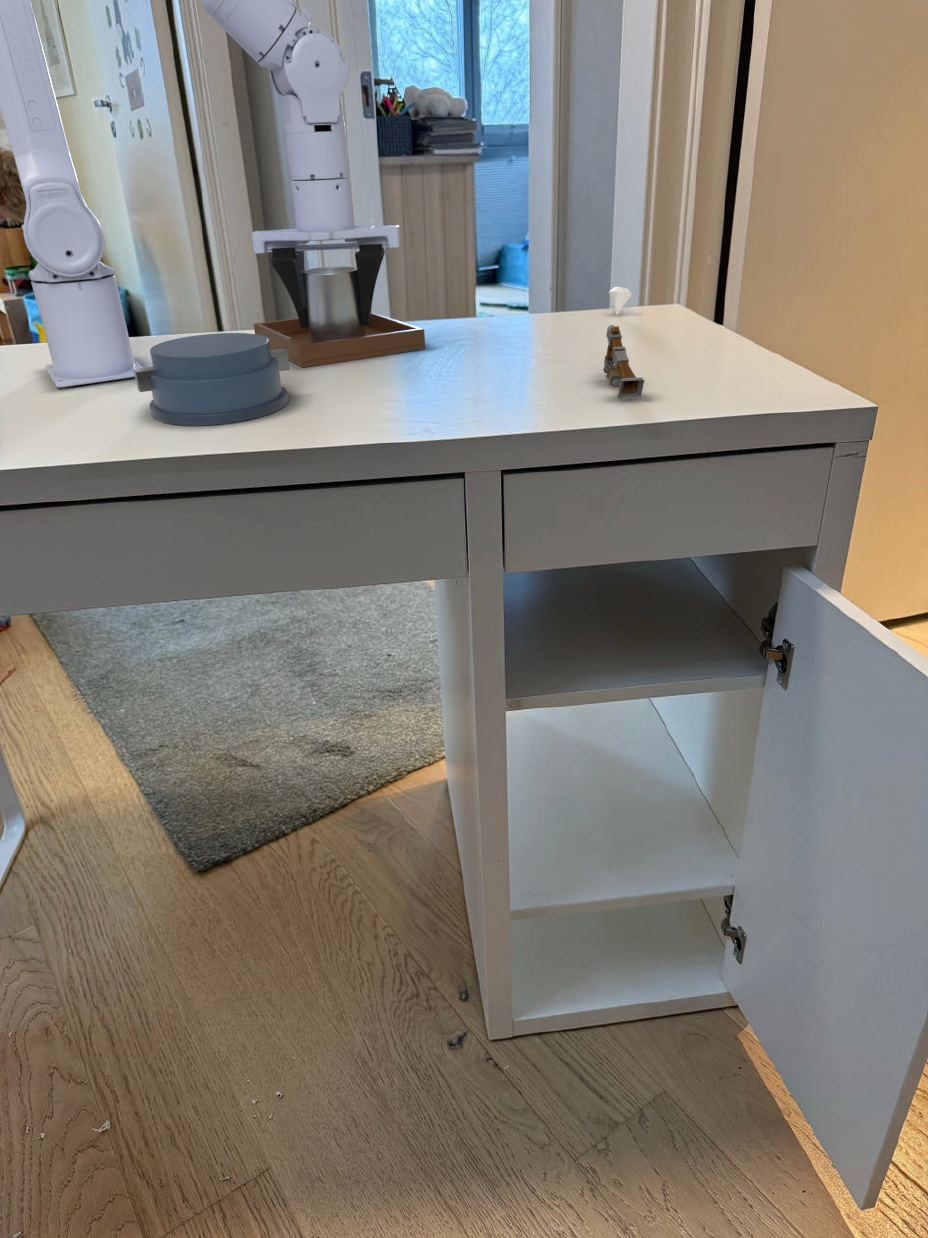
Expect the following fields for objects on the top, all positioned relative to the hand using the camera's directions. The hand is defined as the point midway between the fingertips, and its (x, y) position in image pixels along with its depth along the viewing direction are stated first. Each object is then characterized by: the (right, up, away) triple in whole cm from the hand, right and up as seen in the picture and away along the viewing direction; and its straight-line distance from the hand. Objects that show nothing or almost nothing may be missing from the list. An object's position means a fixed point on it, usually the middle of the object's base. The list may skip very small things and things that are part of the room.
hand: (336, 324), depth 90 cm
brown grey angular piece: (+26, -12, -19) cm, 34 cm away
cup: (0, -1, +1) cm, 2 cm away
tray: (0, -2, +1) cm, 2 cm away
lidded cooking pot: (-7, -13, -19) cm, 24 cm away
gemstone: (+31, +5, +11) cm, 33 cm away
